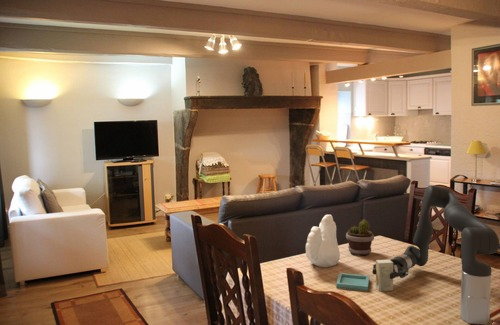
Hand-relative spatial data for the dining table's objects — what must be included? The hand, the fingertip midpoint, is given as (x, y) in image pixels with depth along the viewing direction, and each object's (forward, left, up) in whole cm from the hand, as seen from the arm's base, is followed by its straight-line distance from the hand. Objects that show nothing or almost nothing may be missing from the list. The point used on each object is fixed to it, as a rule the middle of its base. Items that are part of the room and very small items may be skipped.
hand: (382, 274), depth 176 cm
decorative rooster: (+23, +30, -7) cm, 39 cm away
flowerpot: (+49, +12, -7) cm, 51 cm away
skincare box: (+2, -1, -7) cm, 8 cm away
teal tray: (+4, +12, -7) cm, 14 cm away
